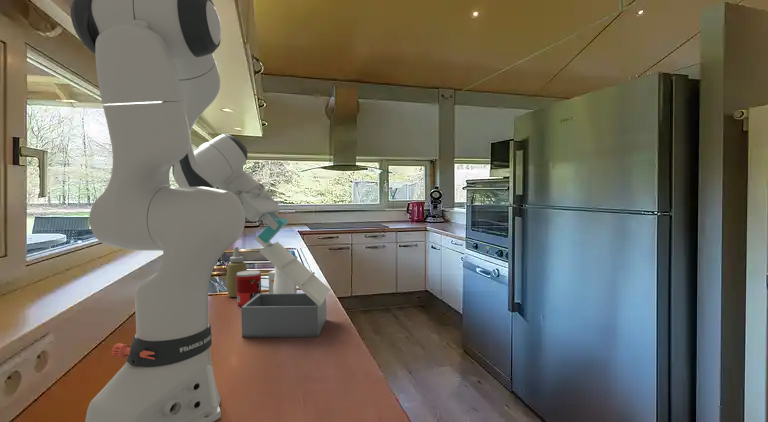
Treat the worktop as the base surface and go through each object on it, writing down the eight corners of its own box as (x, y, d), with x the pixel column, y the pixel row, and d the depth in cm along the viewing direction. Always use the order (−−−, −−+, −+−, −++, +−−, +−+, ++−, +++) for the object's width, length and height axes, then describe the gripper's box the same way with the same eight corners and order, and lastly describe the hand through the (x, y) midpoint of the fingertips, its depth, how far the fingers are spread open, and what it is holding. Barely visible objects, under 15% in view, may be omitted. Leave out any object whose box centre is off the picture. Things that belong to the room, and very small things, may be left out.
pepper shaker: (298, 305, 134) (296, 248, 133) (292, 311, 126) (291, 251, 126) (276, 305, 134) (275, 248, 133) (269, 311, 127) (268, 251, 126)
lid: (319, 306, 103) (342, 282, 103) (247, 241, 102) (269, 216, 102) (328, 292, 118) (347, 270, 117) (265, 234, 117) (284, 213, 117)
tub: (318, 336, 104) (317, 306, 103) (242, 337, 104) (241, 307, 104) (326, 319, 118) (325, 293, 117) (259, 320, 118) (258, 293, 118)
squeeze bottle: (253, 293, 150) (252, 246, 149) (241, 298, 142) (240, 249, 141) (234, 292, 152) (232, 245, 151) (221, 297, 144) (219, 248, 143)
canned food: (254, 308, 131) (253, 275, 130) (232, 307, 132) (231, 274, 132) (265, 301, 138) (265, 270, 138) (245, 300, 140) (244, 269, 139)
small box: (297, 298, 142) (296, 269, 141) (290, 303, 136) (289, 272, 136) (276, 297, 143) (276, 268, 143) (268, 301, 138) (268, 272, 137)
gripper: (237, 182, 99) (277, 221, 99) (263, 184, 119) (296, 216, 119) (220, 200, 99) (260, 239, 99) (249, 199, 119) (282, 231, 120)
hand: (280, 227), depth 110 cm, fingers closed on lid, 4 cm apart
